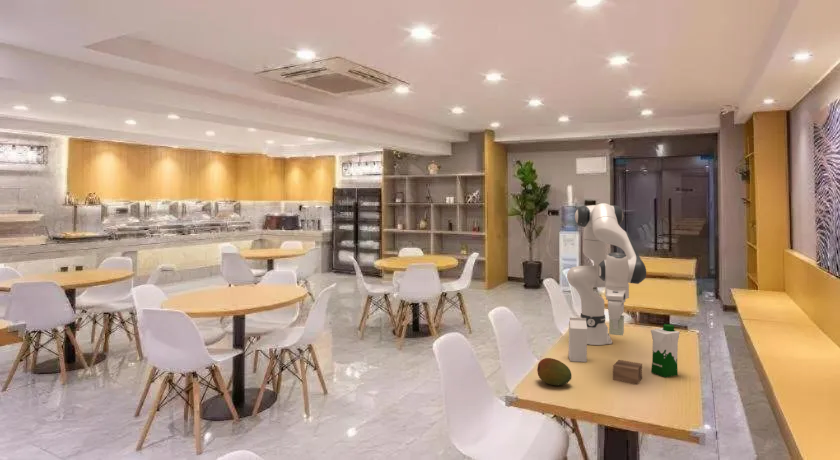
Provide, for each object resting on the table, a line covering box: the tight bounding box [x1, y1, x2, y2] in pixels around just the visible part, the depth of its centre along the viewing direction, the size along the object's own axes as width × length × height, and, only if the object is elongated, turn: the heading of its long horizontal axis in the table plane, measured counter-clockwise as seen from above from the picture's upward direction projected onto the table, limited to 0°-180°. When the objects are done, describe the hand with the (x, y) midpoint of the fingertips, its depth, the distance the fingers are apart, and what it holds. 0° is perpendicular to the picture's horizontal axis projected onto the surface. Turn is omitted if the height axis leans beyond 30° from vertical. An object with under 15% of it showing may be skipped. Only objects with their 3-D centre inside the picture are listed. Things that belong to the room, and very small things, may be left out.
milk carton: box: [568, 317, 588, 363], centre depth 219 cm, size 7×7×19 cm
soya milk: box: [650, 323, 681, 378], centre depth 199 cm, size 9×9×20 cm
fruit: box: [536, 357, 572, 386], centre depth 188 cm, size 12×12×10 cm
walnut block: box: [612, 359, 643, 385], centre depth 194 cm, size 9×9×6 cm
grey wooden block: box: [608, 314, 625, 337], centre depth 196 cm, size 5×5×7 cm
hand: (616, 327), depth 196 cm, fingers closed on grey wooden block, 5 cm apart
